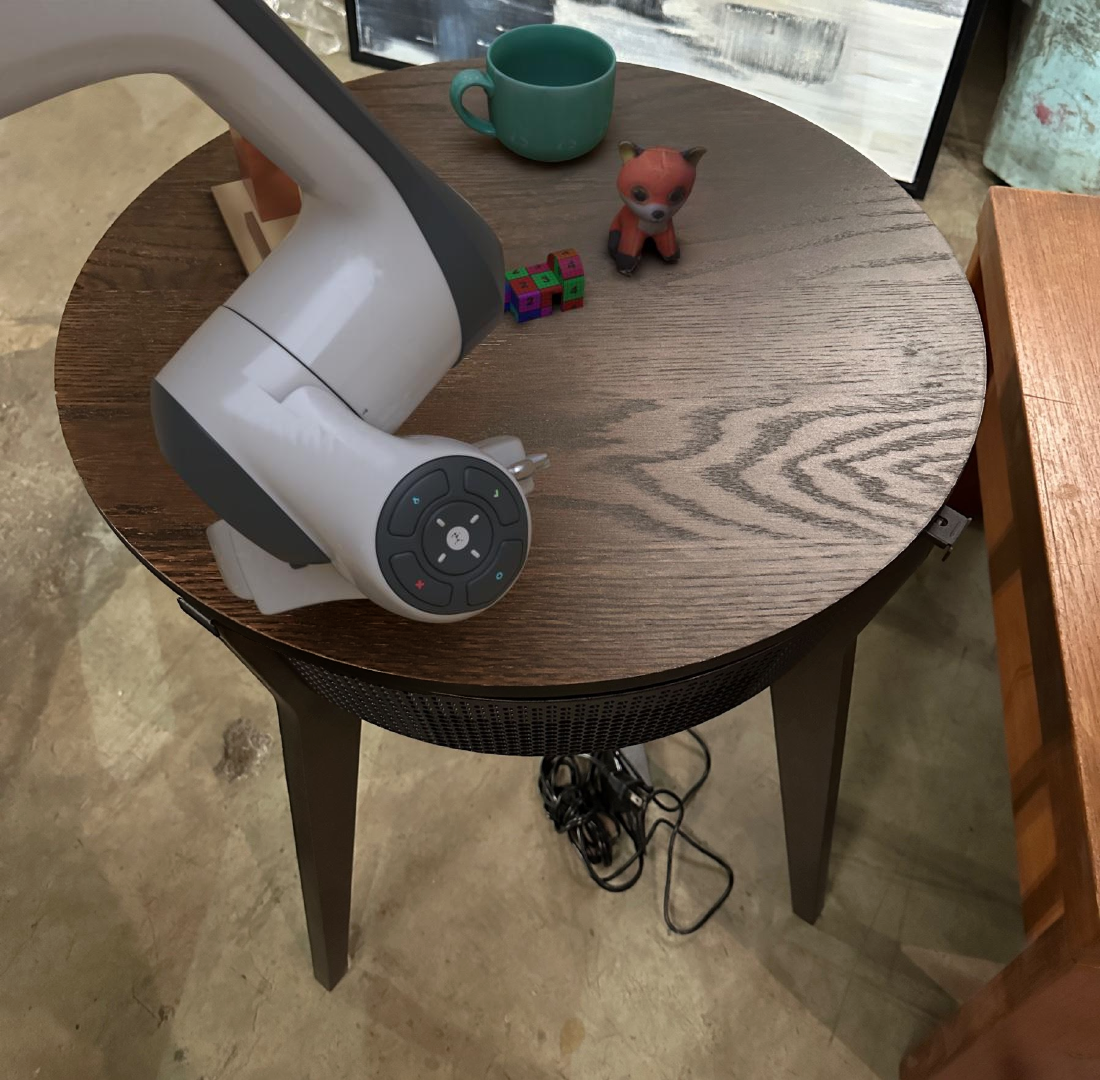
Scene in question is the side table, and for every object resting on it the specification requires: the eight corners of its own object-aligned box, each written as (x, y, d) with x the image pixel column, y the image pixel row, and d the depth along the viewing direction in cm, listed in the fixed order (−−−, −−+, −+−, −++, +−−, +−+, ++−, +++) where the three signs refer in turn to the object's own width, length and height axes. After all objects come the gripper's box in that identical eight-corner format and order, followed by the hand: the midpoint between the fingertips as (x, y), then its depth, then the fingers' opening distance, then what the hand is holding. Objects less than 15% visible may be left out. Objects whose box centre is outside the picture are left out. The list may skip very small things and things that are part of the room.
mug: (593, 105, 112) (599, 17, 104) (623, 171, 104) (631, 81, 97) (442, 120, 109) (436, 31, 102) (462, 188, 102) (457, 98, 94)
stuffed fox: (675, 208, 101) (692, 92, 91) (694, 282, 94) (714, 165, 84) (599, 210, 100) (607, 93, 91) (612, 284, 93) (622, 167, 84)
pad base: (261, 307, 90) (236, 206, 82) (213, 197, 100) (186, 98, 92) (370, 278, 93) (356, 178, 85) (312, 174, 103) (295, 75, 95)
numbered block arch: (559, 270, 95) (560, 228, 91) (582, 306, 92) (585, 264, 88) (477, 290, 93) (475, 248, 89) (499, 328, 90) (498, 286, 86)
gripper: (544, 407, 60) (484, 414, 73) (195, 517, 55) (197, 503, 68) (573, 509, 61) (509, 498, 74) (235, 627, 56) (229, 592, 69)
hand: (358, 501), depth 71 cm, fingers open, 4 cm apart
